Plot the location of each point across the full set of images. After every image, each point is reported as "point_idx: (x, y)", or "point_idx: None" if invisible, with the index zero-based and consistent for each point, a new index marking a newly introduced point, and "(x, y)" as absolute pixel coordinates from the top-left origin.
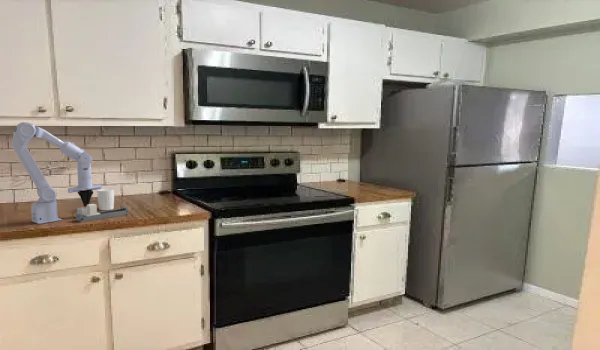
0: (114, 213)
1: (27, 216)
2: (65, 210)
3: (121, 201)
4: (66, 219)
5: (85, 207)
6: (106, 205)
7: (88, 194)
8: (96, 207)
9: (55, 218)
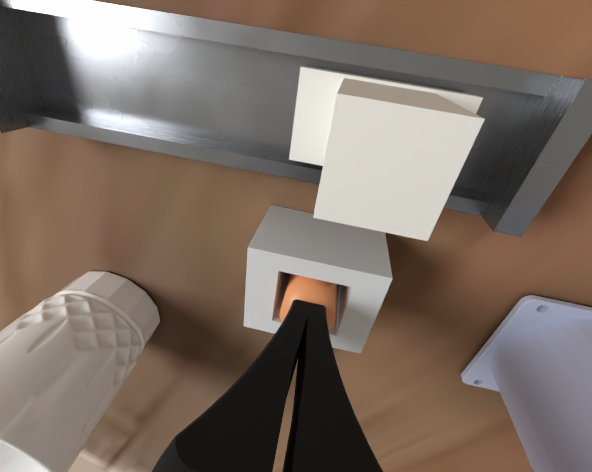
0: (137, 8)
1: (479, 464)
2: None
3: None
4: (476, 288)
5: (328, 300)
6: (105, 303)
7: (276, 446)
8: (342, 87)
9: (573, 327)
